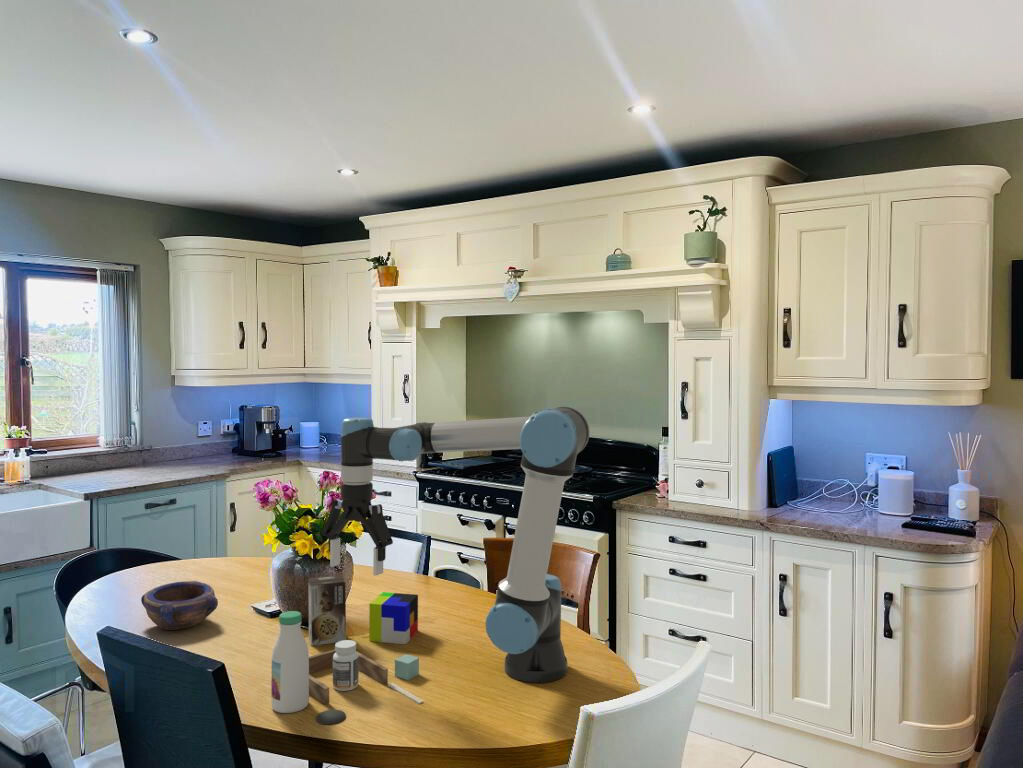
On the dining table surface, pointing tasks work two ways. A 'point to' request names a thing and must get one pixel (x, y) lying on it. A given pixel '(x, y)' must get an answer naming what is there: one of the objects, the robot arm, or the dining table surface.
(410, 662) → the teal block
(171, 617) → the bowl
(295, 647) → the milk bottle
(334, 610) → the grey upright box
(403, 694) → the strip
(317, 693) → the cubby
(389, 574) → the dining table surface
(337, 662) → the pill bottle
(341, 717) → the drain disc
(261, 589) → the dining table surface
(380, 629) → the puzzle toy
